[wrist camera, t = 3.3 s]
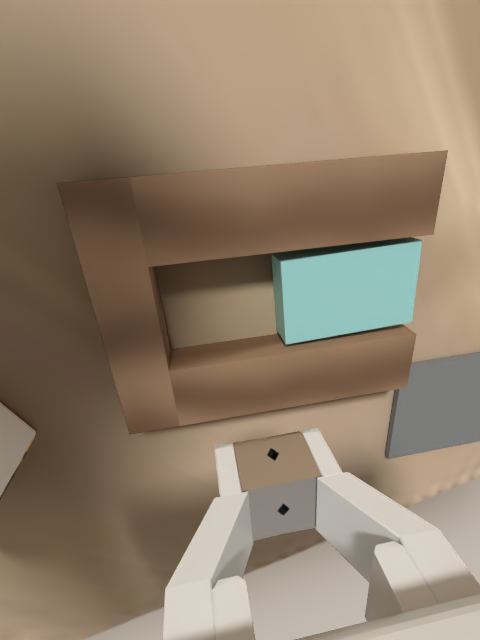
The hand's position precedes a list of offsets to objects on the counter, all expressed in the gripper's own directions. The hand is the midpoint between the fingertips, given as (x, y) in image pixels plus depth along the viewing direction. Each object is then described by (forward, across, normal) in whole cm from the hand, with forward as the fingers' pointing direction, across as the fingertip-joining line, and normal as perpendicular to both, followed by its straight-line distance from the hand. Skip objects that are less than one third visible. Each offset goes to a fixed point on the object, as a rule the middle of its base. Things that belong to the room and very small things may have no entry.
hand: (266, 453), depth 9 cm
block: (+12, -7, -1) cm, 14 cm away
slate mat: (+12, -17, +11) cm, 23 cm away
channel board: (+12, -2, -1) cm, 12 cm away
